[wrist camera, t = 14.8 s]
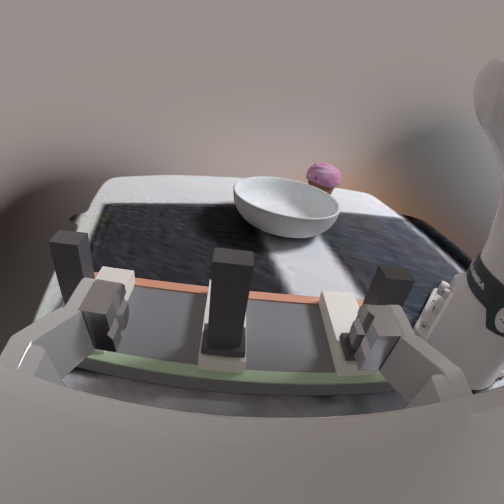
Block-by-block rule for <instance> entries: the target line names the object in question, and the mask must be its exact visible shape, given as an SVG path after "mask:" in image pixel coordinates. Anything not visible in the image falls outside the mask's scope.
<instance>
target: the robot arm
mask: <svg viewBox="0 0 504 504" xmlns="http://www.w3.org/2000/svg"><path fill="white" fill-rule="evenodd" d="M473 98H474V107H475V112H476V115H477V118H478V120H479V123H480V125H481V127H482V129H483V130H484V132H485V133H486V135H487V136H488V138H489V140H490V142H491V144H492V146H493V148H494V151H495V153H496V156H497V160H498V164H499V168H500V175H501V196H500V202H499V207H498V210H497V214H496V217H495V220H494V223H493V226H492V229H491V231H490V234H489V237H488V239H487V242H486V244H485V246H484V249H483V250H482V252H480V253H478V255H477V256H476V258H475V259H474V260H473V261H472V263H471V265H470V267H469V268H468V270H467V272H464V273H460V274H456V275H454V276H453V278H452V280H451V282H450V284H449V283H447V282H445V281H441V283H440V285H439V287H438V288H435V289H433V291H432V292H431V294H430V296H429V298H428V300H427V302H426V304H425V306H424V308H423V310H422V312H421V314H420V316H419V318H418V320H417V322H416V323H415V325H414V327H413V329H412V327H411V325H410V323H409V321H408V319H407V317H406V315H405V313H404V311H403V309H402V307H401V306H399V305H370V304H362V305H361V306H360V308H359V310H358V312H357V313H358V316H359V318H357V319H356V320H355V321H353V323H352V326H351V328H350V343H351V346H352V347H353V348H354V349H355V350H356V351H357V352H356V354H355V356H354V357H355V360H356V363H357V367H358V370H379V372H380V373H381V374H382V375H383V376H384V377H385V379H386V380H387V381H388V382H389V383H390V384H391V385H392V386H393V388H394V389H395V390H396V391H397V392H398V393H399V394H400V395H401V397H402V398H403V399H404V400H405V401H406V402H407V403H408V405H407V406H406V407H405V408H404V409H399V410H392V411H385V412H376V413H367V414H357V415H345V416H329V417H302V418H270V417H243V416H227V415H215V414H204V413H195V412H187V411H179V410H172V409H165V408H158V407H152V406H147V405H141V404H136V403H130V402H126V401H121V400H116V399H112V398H107V397H103V396H99V395H95V394H91V393H87V392H83V391H79V390H76V389H72V388H69V387H66V386H65V385H64V383H63V381H62V379H63V378H64V377H65V376H66V375H67V374H68V373H69V372H70V371H72V370H73V369H74V368H75V367H76V366H77V365H78V364H80V363H81V362H82V361H83V360H84V359H85V358H86V357H87V356H89V355H90V354H91V353H92V352H93V351H94V350H95V349H98V350H104V351H110V352H116V353H117V350H118V348H119V345H120V342H121V340H122V336H121V331H123V330H124V329H126V326H127V323H128V318H129V305H128V302H127V301H126V300H125V299H124V297H125V294H126V289H125V285H124V284H123V283H118V282H112V281H105V280H99V279H92V278H86V277H85V278H83V279H82V280H81V281H80V283H79V284H78V286H77V288H76V289H75V291H74V292H73V294H72V296H71V297H70V299H69V301H68V302H67V304H66V306H65V307H60V308H58V309H56V310H55V311H53V312H51V313H50V314H48V315H46V316H44V317H43V318H41V319H39V320H38V321H36V322H34V323H33V324H31V325H29V326H28V327H26V328H24V329H23V330H21V331H20V332H18V333H16V334H15V335H13V336H11V338H10V340H9V341H8V343H7V345H6V347H5V348H4V350H3V352H2V353H1V355H0V504H504V386H501V387H498V388H495V389H491V390H488V391H484V392H481V393H477V394H473V393H472V391H471V390H482V389H486V388H488V387H489V386H491V385H492V384H493V382H494V381H495V380H496V379H497V378H500V377H503V376H504V59H501V58H496V59H493V60H491V61H490V62H488V63H487V64H486V65H485V66H484V67H483V68H482V69H481V71H480V72H479V74H478V76H477V78H476V81H475V85H474V93H473Z"/></svg>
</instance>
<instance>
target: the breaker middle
mask: <svg viewBox="0 0 504 504" xmlns="http://www.w3.org/2000/svg"><path fill="white" fill-rule="evenodd" d="M253 268H254V257H253V252H252V251H243V250H234V249H225V248H215V251H214V257H213V263H212V276H211V290H210V305H209V321H208V324H207V323H204V330H203V337H202V345H201V354H210V355H220V356H230V357H242V358H245V352H246V327H244V321H245V315H246V309H247V303H248V297H249V292H250V286H251V280H252V274H253Z"/></svg>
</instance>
